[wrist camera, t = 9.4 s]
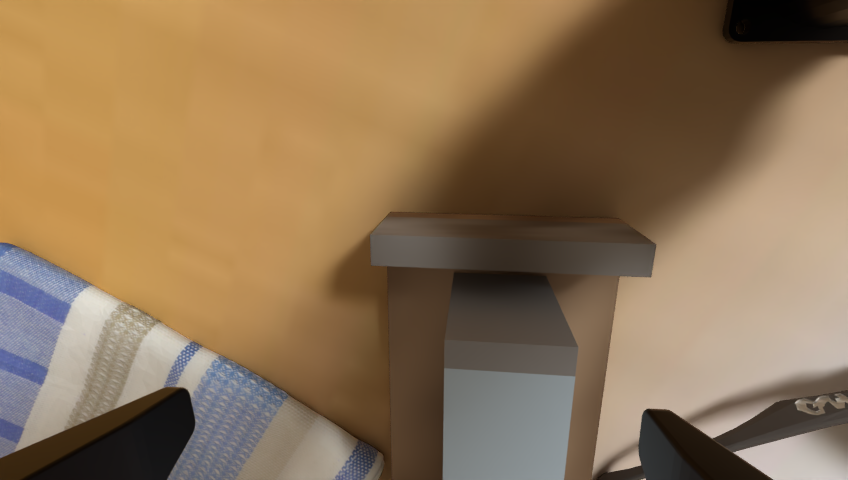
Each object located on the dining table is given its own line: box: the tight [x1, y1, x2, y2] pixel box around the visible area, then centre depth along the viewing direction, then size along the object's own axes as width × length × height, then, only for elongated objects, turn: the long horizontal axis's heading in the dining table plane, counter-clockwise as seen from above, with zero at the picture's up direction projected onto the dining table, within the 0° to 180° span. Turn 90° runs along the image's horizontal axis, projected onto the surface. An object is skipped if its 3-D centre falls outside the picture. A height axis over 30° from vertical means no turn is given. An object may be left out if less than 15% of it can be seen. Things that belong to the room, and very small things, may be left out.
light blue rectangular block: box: [443, 273, 579, 480], centre depth 17 cm, size 4×11×6 cm, turn 0°
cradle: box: [370, 212, 656, 480], centre depth 19 cm, size 10×16×4 cm, turn 179°
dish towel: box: [0, 243, 384, 480], centre depth 24 cm, size 17×24×3 cm
